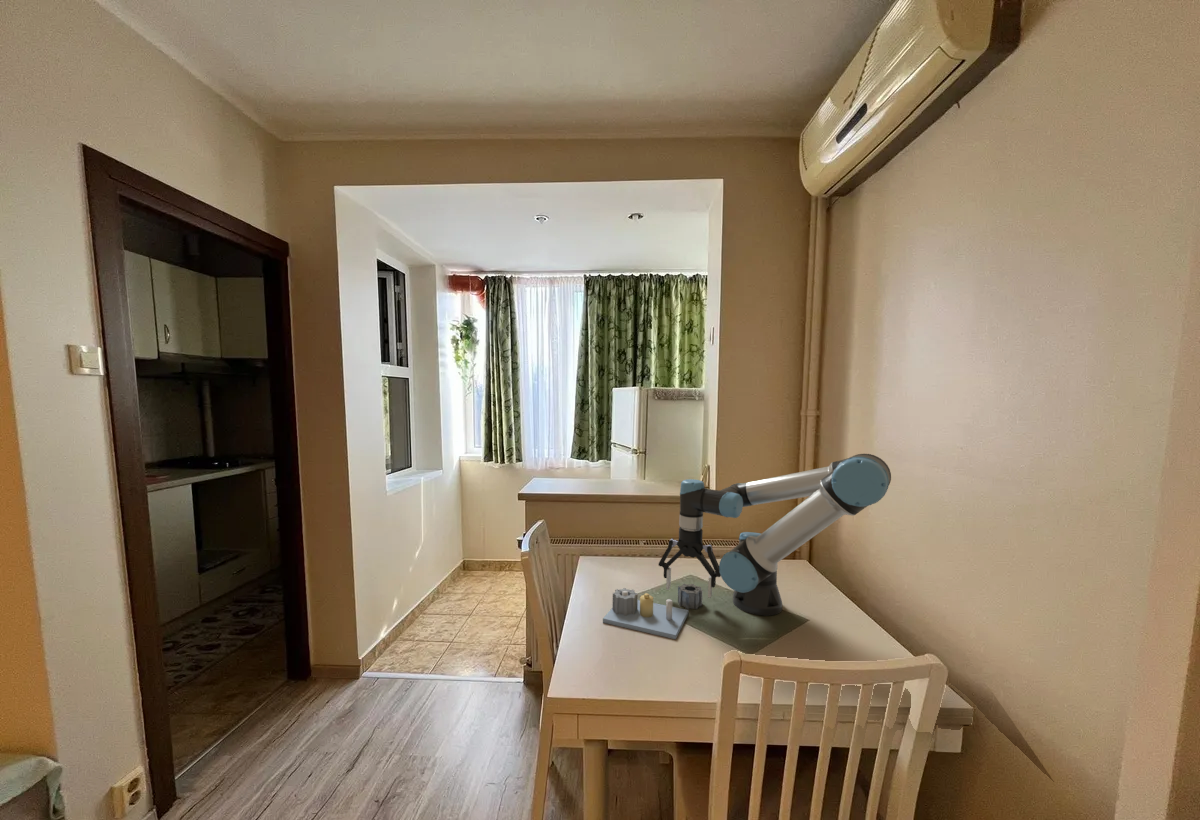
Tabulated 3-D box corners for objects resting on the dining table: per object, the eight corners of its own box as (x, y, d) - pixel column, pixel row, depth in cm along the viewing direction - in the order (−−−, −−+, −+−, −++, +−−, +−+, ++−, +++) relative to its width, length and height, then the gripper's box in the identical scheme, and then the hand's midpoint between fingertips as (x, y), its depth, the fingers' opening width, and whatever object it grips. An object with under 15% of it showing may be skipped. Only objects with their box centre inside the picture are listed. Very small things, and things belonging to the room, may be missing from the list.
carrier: (688, 613, 135) (688, 590, 135) (675, 639, 121) (675, 613, 121) (622, 600, 144) (622, 578, 144) (602, 622, 130) (603, 598, 130)
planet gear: (699, 598, 146) (699, 583, 146) (703, 609, 138) (704, 593, 138) (676, 598, 146) (676, 583, 146) (680, 608, 139) (680, 593, 139)
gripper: (732, 530, 140) (729, 595, 141) (656, 519, 150) (655, 580, 151) (728, 536, 133) (726, 605, 134) (650, 525, 143) (648, 588, 144)
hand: (688, 592), depth 143 cm, fingers open, 13 cm apart
